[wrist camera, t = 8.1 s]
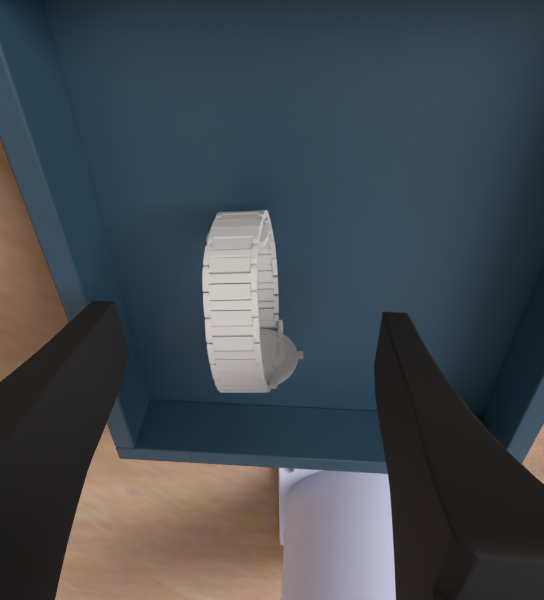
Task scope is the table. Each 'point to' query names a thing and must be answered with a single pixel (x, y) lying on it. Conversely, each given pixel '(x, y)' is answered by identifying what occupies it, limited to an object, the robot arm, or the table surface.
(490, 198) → the tray
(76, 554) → the table surface
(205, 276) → the wristwatch
